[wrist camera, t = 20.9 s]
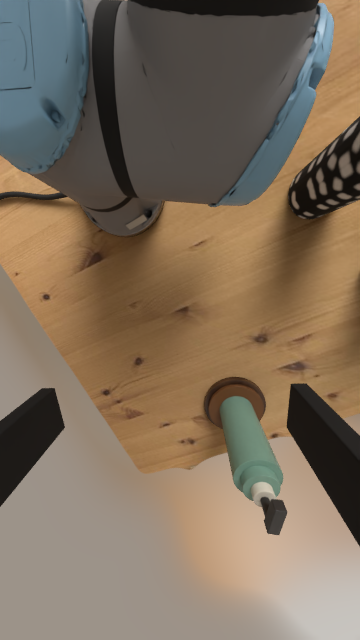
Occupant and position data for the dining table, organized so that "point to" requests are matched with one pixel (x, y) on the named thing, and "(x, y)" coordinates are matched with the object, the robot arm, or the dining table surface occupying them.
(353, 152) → the spotted tube
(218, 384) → the lazy susan base
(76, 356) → the dining table surface
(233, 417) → the soap bottle
